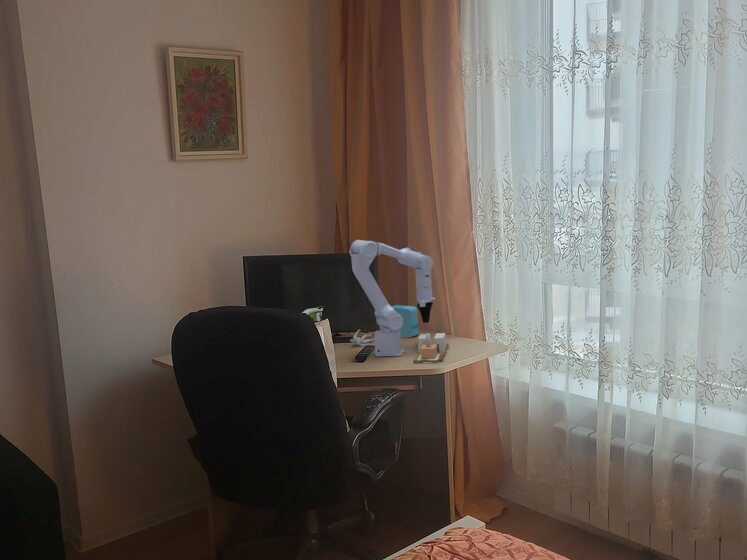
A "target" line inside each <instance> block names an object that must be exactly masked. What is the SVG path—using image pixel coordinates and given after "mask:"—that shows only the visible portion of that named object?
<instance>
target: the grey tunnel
mask: <svg viewBox="0 0 747 560" xmlns="http://www.w3.org/2000/svg"><path fill="white" fill-rule="evenodd" d="M426 334H427V333H420V334H419V336H418V337H417V346H418V349H417V350H418V351H419V353H421V350H420V349H421V347H422V345H426ZM433 341H434V342H435V343H436V342H438V344H439V351H440V352H444V351H445V349H446V344H447V338H446V332H439V333H438V332H437V333H435V335H434V338H433ZM418 351H417V352H418Z"/></svg>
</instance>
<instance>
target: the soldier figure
mask: <svg viewBox="0 0 747 560" xmlns="http://www.w3.org/2000/svg"><path fill="white" fill-rule="evenodd" d="M360 331H361V329H358V330H357V331H356V332H355V334H354V335H353V338H350V339H349V341H350V343H351V345H354V343H355V344H356V345H358V346H359V347H367V346H368V345H369V346H370V345H371V344H370V343H372V342H373V341H374V342H375V337H374V338H371V336H372V333H369V334H364V335H362V336H361V337H358V334H359V333H361V332H360ZM366 338H368V339H366ZM369 338H371V339H369Z"/></svg>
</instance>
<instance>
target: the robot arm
mask: <svg viewBox="0 0 747 560" xmlns="http://www.w3.org/2000/svg"><path fill="white" fill-rule="evenodd" d="M411 249H412V248H410V247H404V248H401V249H397V248H396V247H393V246H390V245H389V244H386V243H382V242H378V241H373V240H363V239H356V240H354V241H353V242H352V244H351V246H350V249H349V254H350V257H351V270H352V272H353V274H354V276H355V277H356V279H357V281H358V283H359V285H360V286H361V288H362V289H363V290H362V291H364V293H365V294H366V297H367V298H368V300H369V302H370V304H371V305H372V306H373V308H374V310H375V311H374V316H375V318H376V323H377V325H378V326H379V330H376V331H374V338H375V340H374V348H375V349H374V351H375V357H400V356H402V355H403V352H404V351H405V350H404V349H402V339H401V338H402V337H401V336H400V328H401V327H402V325H403V318H402V316H401V315H399V314H398V313H397V312H396V311H395V309H394V308H392V306H391V305H390V304H389V302H388V301H387V298H386V297H385V295H384V294H383V291H382V290H381V288H380V287H379V285H378V283H377V281H376V279H375V278H374V276H373V274H372V273H371V271H370V266H371V264H372V263H373V260H374V259H375V257H376V256H380V255H381V254H382V255H386V256H387V257H388V256H389V257H392V258H395V259H396V260H397V262H398V263H399V264H402V265H404V266H408V267H411V268H413V269H414V271H415V272H414V273H415V287H416V290H415V291H416V301H417V302H418V303H417V304H416V308H418V309H417V310H418V311H419V313H420V316H421V321H422V323H423V324H425V323H430V318H431V311H432V306H433V304H434V302H432V301H435V300H436V297H433V288H432V269H433V267H434V263H435V262H434V261H433V259H432V257H431V256H430V255H427V254H422V253H421V251H414V250H411Z"/></svg>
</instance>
